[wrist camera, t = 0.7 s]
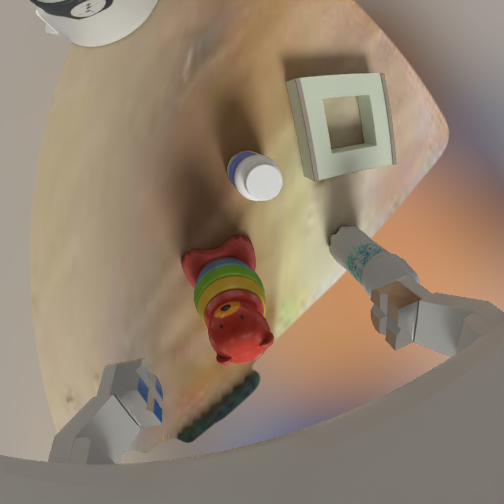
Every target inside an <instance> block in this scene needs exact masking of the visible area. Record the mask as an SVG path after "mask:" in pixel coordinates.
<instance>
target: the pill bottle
mask: <svg viewBox="0 0 504 504" xmlns="http://www.w3.org/2000/svg"><path fill="white" fill-rule="evenodd" d="M227 174H228V177H229V179H230V181H231V183H232V184H233V185H234V186H235V187H236V189H237V190H238V191H239V192H240V193H241V194H242V195H243V196H244V197H246V198H247V199H250V200H254V201H260V200H269V199H272V198H273V197H275V196H276V195H277V194H278V193H279V191H280V190H281V187H282V176H281V173H280V170H279V167H278V166H277V164H276V163H275V162H274V161H273V160H272V159H270V158H269V157H266V156H264V155H261V154H258V153H256V152H253V151H241V152H239V153H237V154H235V155H234V156H233V157H232V158H231V160H230V161H229V163H228V167H227Z"/></svg>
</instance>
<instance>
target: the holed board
mask: <svg viewBox="0 0 504 504" xmlns="http://www.w3.org/2000/svg"><path fill="white" fill-rule="evenodd" d="M286 85H287V89H288V94H289V98H290V103H291V107H292V112H293V117H294V122H295V127H296V132H297V137H298V143H299V148H300V153H301V159H302V164H303V170H304V176H305V177H307V178H309V179H311V180H313V181H315V182H316V181H319V180H322V179H326V178H331V177H335V176H339V175H344V174H348V173H353V172H357V171H362V170H367V169H371V168H376V167H381V166H386V165H391V164H393V165H394V164H396V152H395V142H394V133H393V124H392V117H391V110H390V103H389V97H388V91H387V85H386V80H385V75H384V73H363V74H340V75H325V76H314V77H304V78H295V79H292V80H290V81H287V82H286ZM346 96H357V100H358V105H359V111H360V118H361V124H362V131H363V138H364V143H363V144H357V145H351V146H345V147H340V148H334V149H331V145H330V139H329V133H328V127H327V121H326V116H325V110H324V105H323V100H322V99H327V98H336V97H346Z"/></svg>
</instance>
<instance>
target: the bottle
mask: <svg viewBox="0 0 504 504" xmlns="http://www.w3.org/2000/svg"><path fill="white" fill-rule="evenodd" d="M338 230H339V231H338V232H337V233H336V234H335V235H332V236H331V238H330V239H331V245H330V246H329V250H330V253H331V255H332V256H333V258H334V259H335V260H336V261H337V262H338V263H339V264H340V265H341V266H343V267H344V268H345V269H346V270H348V271H349V272H350V273H351V275H353V276H354V278H355V279H356V280H357V281H358V282H359V283H360V284H361V285H362V286H363V287H364V289H365V292H366V293H367V294H368V296H370V298H371V292H372V290H373V289H376V288H379V287H381V286H384V285H386V284H389V283H391V282H393V281H395V280H397V279H399V278H401V277H404V276H408V277H410V278H411V279H412V280H414V281H415V282H417V283H418V284H420V281H419V277H418V275H417V274H416V273H415V272H414V270H413V269H412V268H411V267H410V266H409V265H408V264H407V262H406V261H405V260H403V259H402V258H400V257H398V256H397V255H395V254H390V253H389V252H388V251H386V250H385V249H384V248H382V247H381V246H380V245H378V244H377V243H376V242H374V241H373V240H372V239H371V238H369V237H368V236H367V235H366V234H365V233H364V232H363V231H361V230H360V229H358V228H356V227H354V226H350V227H340V228H339V229H338Z"/></svg>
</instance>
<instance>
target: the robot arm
mask: <svg viewBox="0 0 504 504" xmlns="http://www.w3.org/2000/svg"><path fill="white" fill-rule="evenodd" d="M30 1H31V2H32V3H33V4H34V5H35V6H36V7H37V9H36V13H37V15H38V16H39V17H40V18H41V19H42V20H44V21H45V22H46V25H45V31H46V32H47V33H48V34H50V35H56V36H64V37H65V38H67V39H68V40H70V41H71V42H73V43H75V44H77V45H81V46H87V47H94V46H102V45H106V44H109V43H112V42H115V41H117V40H119V39H121V38H123V37H125V36H127V35H128V34H130V33H131V32H133V31H134V30H135V29H137V28H138V27H139V26H140V25H141V24H142V23H143V22H144V21H145V20H146V19H147V18H148V16H149V15H150V14H151V12H152V10H153V9H154V7H155V5H156V3H157V1H158V0H30ZM371 301H372V302H373V303H374V305H373V307H372V309H371V319H372V323H373V325H374V327H375V329H376V330H377V331H378V332H379V333H380V334H384V335H386V341H387V342H388V343H389V344H390V345H391V346H392V348H393V349H394V350H397V349H400V348H401V347H404V346H406V345H408V344H410V343H412V342H414V343H416V344H419V345H421V346H424V347H426V348H429V349H432V350H435V351H437V352H440V353H442V354H445V355H448V356H450V357H451V358H449V359H448V360H446V361H445V362H443V363H441V364H440V365H438V366H437V367H435V368H433V369H432V370H430V371H428V372H427V373H425V374H423V375H421V376H420V377H418V378H416V379H414V380H413V381H411V382H409V383H407V384H405V385H403V386H402V387H400V388H398V389H396V390H394V391H392V392H390V393H388V394H386V395H384V396H382V397H380V398H378V399H376V400H374V401H371V402H369V403H367V404H365V405H363V406H361V407H358V408H356V409H354V410H352V411H349V412H347V413H344V414H342V415H339V416H337V417H334V418H332V419H329V420H327V421H324V422H321V423H319V424H316V425H313V426H310V427H307V428H305V429H302V430H299V431H296V432H293V433H289V434H287V435H283V436H280V437H277V438H273V439H270V440H266V441H263V442H259V443H255V444H251V445H247V446H243V447H239V448H235V449H230V450H226V451H221V452H216V453H210V454H205V455H199V456H194V457H187V458H180V459H173V460H165V461H154V462H143V463H128V464H119V463H120V461H121V460H122V458H123V457H124V455H125V453H126V452H127V450H128V448H129V447H130V445H131V444H132V442H133V440H134V439H135V437H136V435H137V434H138V432H139V431H140V428H142V427H148V426H154V425H160V424H162V408H161V407H160V405H159V404H160V403H161V402H162V400H163V392H162V387H161V384H160V382H159V379H158V378H157V376H156V375H155V374H153V373H151V372H150V370H151V366H150V364H149V362H148V361H147V359H145V358H141V359H136V360H131V361H125V362H119V363H114V364H109V365H107V366H105V368H104V372H103V375H102V379H101V382H100V386H99V389H98V393H97V397H93V398H92V399H91V400H90V401H89V402H88V403H87V404H86V405H85V406H84V407H83V408H82V409H81V410H80V411H79V412H78V413H77V414H76V415H75V416H74V417H73V418H72V419H71V420H70V421H69V422H68V423H67V424H66V425H65V426H64V427H63V428H62V430H61V431H60V432H59V433H58V434H57V435H56V436H55V437H54V441H53V444H52V448H51V452H50V455H49V460H48V462H43V461H34V460H27V459H20V458H14V457H8V456H2V455H0V504H504V312H503V311H501V310H500V309H499V308H497V307H496V306H494V305H493V304H492V303H490V302H488V301H483V300H477V299H471V298H465V297H459V296H453V295H447V294H441V293H434V294H432V293H431V292H429V291H428V290H427V289H425V288H424V287H422V286H421V285H420V284H418V283H417V282H415V281H414V280H412V279H411V278H410V277H408V276H404V277H401V278H399V279H397V280H395V281H393V282H391V283H389V284H386V285H384V286H381V287H379V288H376V289H373V290H372V292H371Z"/></svg>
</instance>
